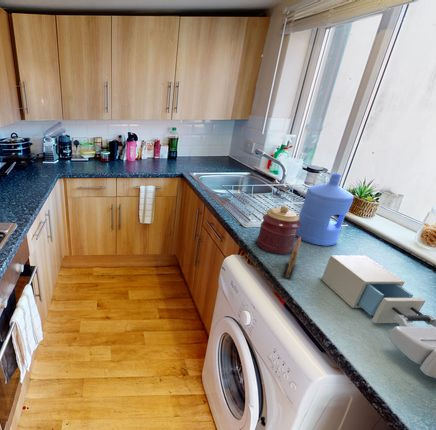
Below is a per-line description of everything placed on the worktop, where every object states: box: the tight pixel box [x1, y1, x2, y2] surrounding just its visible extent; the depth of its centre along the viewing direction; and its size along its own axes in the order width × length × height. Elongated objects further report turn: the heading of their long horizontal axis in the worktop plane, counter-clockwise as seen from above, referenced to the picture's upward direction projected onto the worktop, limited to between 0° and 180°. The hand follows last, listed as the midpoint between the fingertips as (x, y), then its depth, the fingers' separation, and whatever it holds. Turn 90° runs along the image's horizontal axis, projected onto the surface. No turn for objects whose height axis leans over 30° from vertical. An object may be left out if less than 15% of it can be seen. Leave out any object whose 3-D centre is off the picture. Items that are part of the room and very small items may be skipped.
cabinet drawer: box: [357, 284, 430, 324], centre depth 80 cm, size 17×10×8 cm, turn 1°
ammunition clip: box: [283, 236, 302, 280], centre depth 98 cm, size 11×2×12 cm, turn 143°
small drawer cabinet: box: [321, 254, 405, 309], centre depth 89 cm, size 14×12×10 cm
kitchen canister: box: [256, 205, 300, 255], centre depth 112 cm, size 13×13×18 cm
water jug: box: [296, 173, 355, 247], centre depth 118 cm, size 16×16×28 cm
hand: (411, 316), depth 73 cm, fingers closed on cabinet drawer, 6 cm apart
